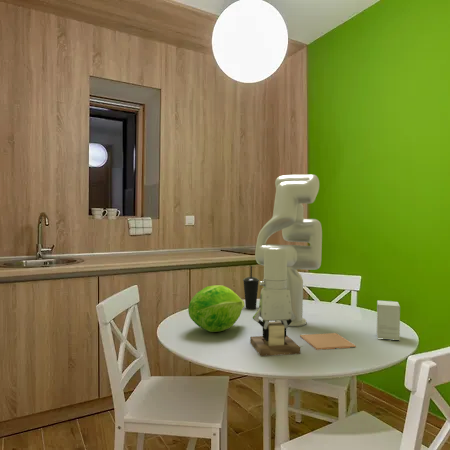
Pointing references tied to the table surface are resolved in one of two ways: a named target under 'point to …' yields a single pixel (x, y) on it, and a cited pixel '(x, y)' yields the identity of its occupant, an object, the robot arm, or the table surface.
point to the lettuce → (215, 308)
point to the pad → (327, 341)
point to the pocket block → (274, 347)
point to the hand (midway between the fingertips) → (274, 338)
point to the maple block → (275, 334)
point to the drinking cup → (250, 291)
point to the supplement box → (388, 320)
